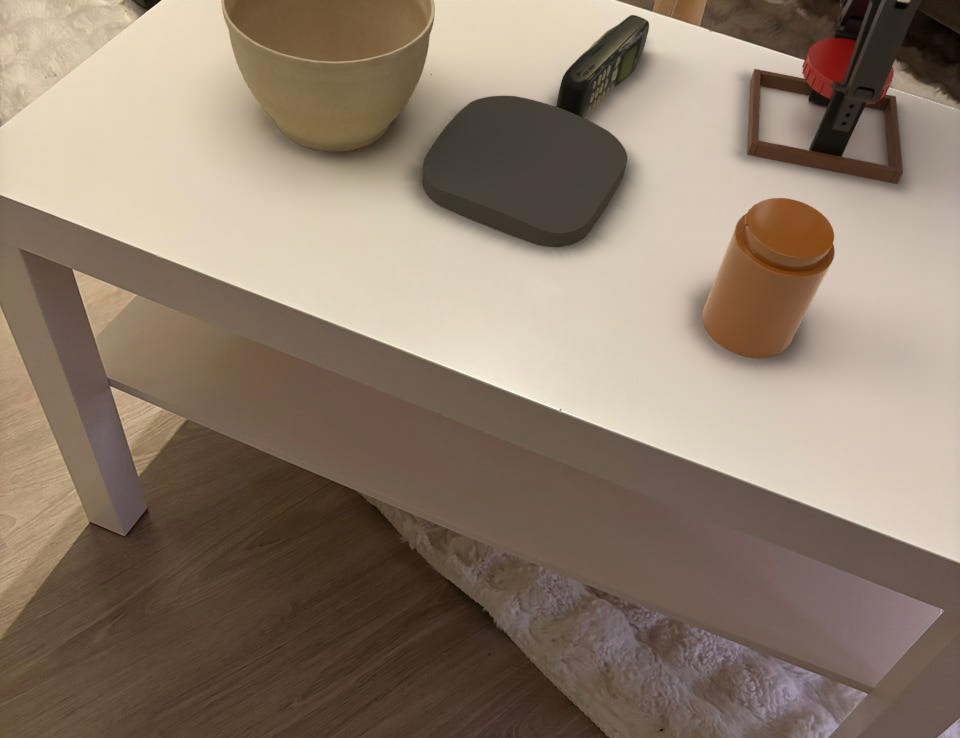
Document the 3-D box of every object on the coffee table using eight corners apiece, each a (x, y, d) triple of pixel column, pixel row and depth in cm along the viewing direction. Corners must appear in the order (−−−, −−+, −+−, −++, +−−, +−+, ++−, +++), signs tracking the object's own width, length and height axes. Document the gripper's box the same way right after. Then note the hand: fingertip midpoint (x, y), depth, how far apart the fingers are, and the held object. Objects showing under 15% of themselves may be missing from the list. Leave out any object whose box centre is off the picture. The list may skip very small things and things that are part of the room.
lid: (801, 96, 85) (808, 79, 84) (801, 46, 89) (807, 30, 88) (889, 112, 85) (896, 96, 84) (884, 62, 89) (892, 46, 88)
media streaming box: (570, 268, 80) (577, 239, 77) (404, 202, 82) (406, 171, 80) (634, 165, 88) (642, 135, 85) (481, 107, 90) (484, 77, 87)
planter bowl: (448, 90, 91) (458, -31, 82) (396, 204, 82) (400, 83, 73) (275, 49, 92) (266, -76, 83) (205, 157, 83) (186, 31, 74)
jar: (789, 308, 80) (840, 204, 71) (789, 374, 76) (843, 272, 67) (701, 290, 80) (742, 184, 71) (696, 355, 76) (738, 251, 68)
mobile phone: (586, 88, 85) (665, 6, 92) (555, 74, 86) (635, -6, 93) (576, 138, 89) (652, 56, 96) (547, 125, 90) (624, 44, 97)
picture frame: (886, 115, 95) (896, 95, 94) (892, 192, 89) (903, 172, 87) (747, 88, 95) (754, 68, 94) (743, 163, 89) (751, 142, 87)
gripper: (885, -221, 78) (783, 55, 97) (901, -94, 67) (781, 191, 86) (983, -203, 78) (861, 70, 97) (1014, -72, 66) (869, 208, 86)
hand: (823, 126), depth 91 cm, fingers closed on lid, 7 cm apart
